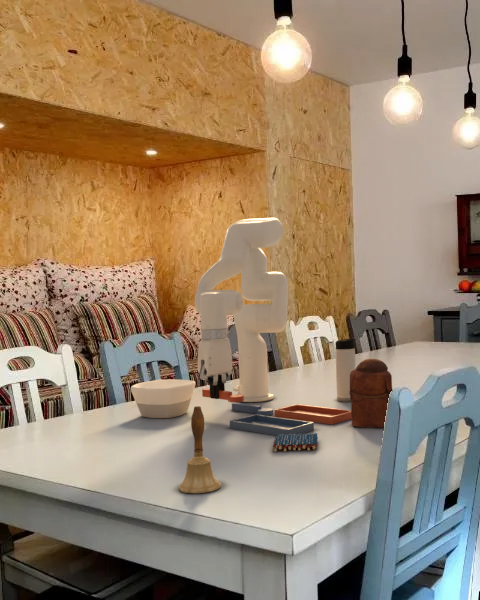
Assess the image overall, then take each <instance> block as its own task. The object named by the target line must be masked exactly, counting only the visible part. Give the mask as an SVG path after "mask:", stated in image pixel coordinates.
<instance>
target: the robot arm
mask: <svg viewBox="0 0 480 600" xmlns="http://www.w3.org/2000/svg"><path fill="white" fill-rule="evenodd" d="M283 235H284V226H283V224H282V222H281V220H279V219H278V218H276V217H264V218H263V217H262V218H244V219H239V220H237V221H235V222H233V223H232V224H231V225H229V226H228V228H227V230H226V234H225V237H224V241H223V244H222V248H221V253H220V256H219V260H218V261H216V262H214V264H213V265H211V267H209V268H208V269H207V270H206V272H204V273H203V275H202V276H201V277H200V279H199V282H198V283H197V288H196V292H195V294H194V295H195V296H194V308H195V311H196V312H197V313H198V314H199V315H200V330H201V331H200V334H201V340H199V343H198V348H197V372H198V374H199V379H200V380H203V381H205V382H206V383H207V385H208V386H209V389H210V399H214V400H220V399H219V390H222V391H226V390H225V389H226V388H225V384H226V383H227V379H228V377H229V376H231V375H232V374H233V353H232V347H231V342H230V338H229V336H228V334H229V333H230V331H229V329H228V316H233V321H234V327H235V331H236V339H237V353H238V376H239V378H238V379H239V384H237V385H235V387H233V388H232V392H236V393H237V394H242V395H244V401H241V402H240V403H260V402H267V401H271V400H273V399H274V393H270V392H269V370H268V369H269V367H268V348H267V343H266V341H265V339H264V338H263V337H262V335H261V334H273V333H275V334H277V333H281V332H283V331H284V330H285V329H286V327H287V324H288V323H287V322H288V309H289V306H288V305H289V282H288V279H287V276H286V274H284V273H283V272H281V271H268V257H267V256H266V254H265V252H264V251H263V250H262V249H267V248H270V247H272V246H276V245H277V244H279V242H280V241H282V238H283ZM240 274H241V277H240V291H237V290H236V289H215V288H216V287H217V286H218V285H219V284H221V283H223V282H224V281H227V280H229V279H232V278H234V277H236V276H238V275H240ZM244 300H246V301H249V302H250V301H252V302H263V301H265V302H267V301H268V302H269V301H271V303H247V304H244Z"/></svg>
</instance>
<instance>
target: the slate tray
mask: <svg viewBox="0 0 480 600" xmlns="http://www.w3.org/2000/svg"><path fill="white" fill-rule="evenodd" d="M229 428H230V429H233V430H239V431H245V432H253V433H259V434H265V435H271V436H276V437H277V435H279V434H281V435H282V434H283V435H285V434H287V435H289V434H290V435H291V434H303V433H304V434H306V433H308V432H309V433H310V432H311V431H314V430H315V422H311V421H303V420H296V419H289V418H282V417H275V416H272V415H269V416H263V415H258V414H255V413H254V414H252V415H248V416H244V417H240V418H235V419H231V420H229Z"/></svg>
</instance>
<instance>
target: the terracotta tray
mask: <svg viewBox="0 0 480 600" xmlns="http://www.w3.org/2000/svg"><path fill="white" fill-rule="evenodd" d="M273 415H274V417H278V418H285V419H292V420H300V421H307V422H314V423H318V424H325V425H326V424H327V425H335V424H338V423H342V422H346V421H348V420H352V414H351V410H350V409H349V410H348V409H341V408H332V407H325V406H324V407H323V406H316V405H307V404H300V403H297V404H291V405H288V406H284V407H280V408H276V409H273Z"/></svg>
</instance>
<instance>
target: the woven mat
mask: <svg viewBox="0 0 480 600" xmlns="http://www.w3.org/2000/svg"><path fill="white" fill-rule="evenodd" d="M318 439H319V437H318V433H317V432H314V433H313V432H312V433H311V432H309V433H302V434H291V435H290V434H289V435H287V434H285V435H283V434H282V435H281V434H279V435H277V436H276V437H274V441H273V445H272V447H273V451H274V452H277V451H278V450H279V451H280V450H283V452H287V449H288V450H289V451H291V450H293V451H296V450H297V451H301V450H305V449H307V451H311V449H312V450H315V449H316V447H318V443H319V442H318Z"/></svg>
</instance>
